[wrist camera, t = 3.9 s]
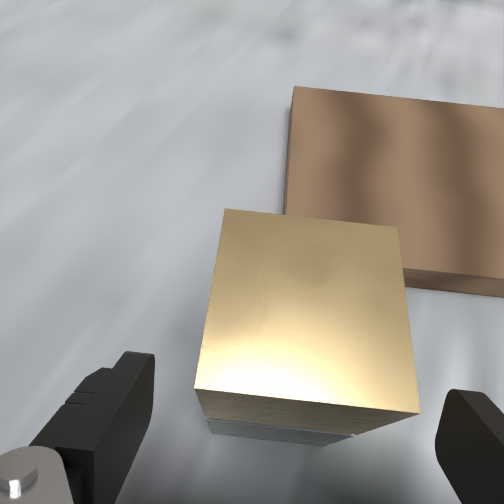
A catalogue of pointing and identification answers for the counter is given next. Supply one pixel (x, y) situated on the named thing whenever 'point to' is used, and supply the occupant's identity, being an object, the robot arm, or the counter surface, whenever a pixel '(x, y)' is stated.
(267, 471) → the counter surface
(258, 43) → the counter surface
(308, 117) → the stand
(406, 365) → the block
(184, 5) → the counter surface
